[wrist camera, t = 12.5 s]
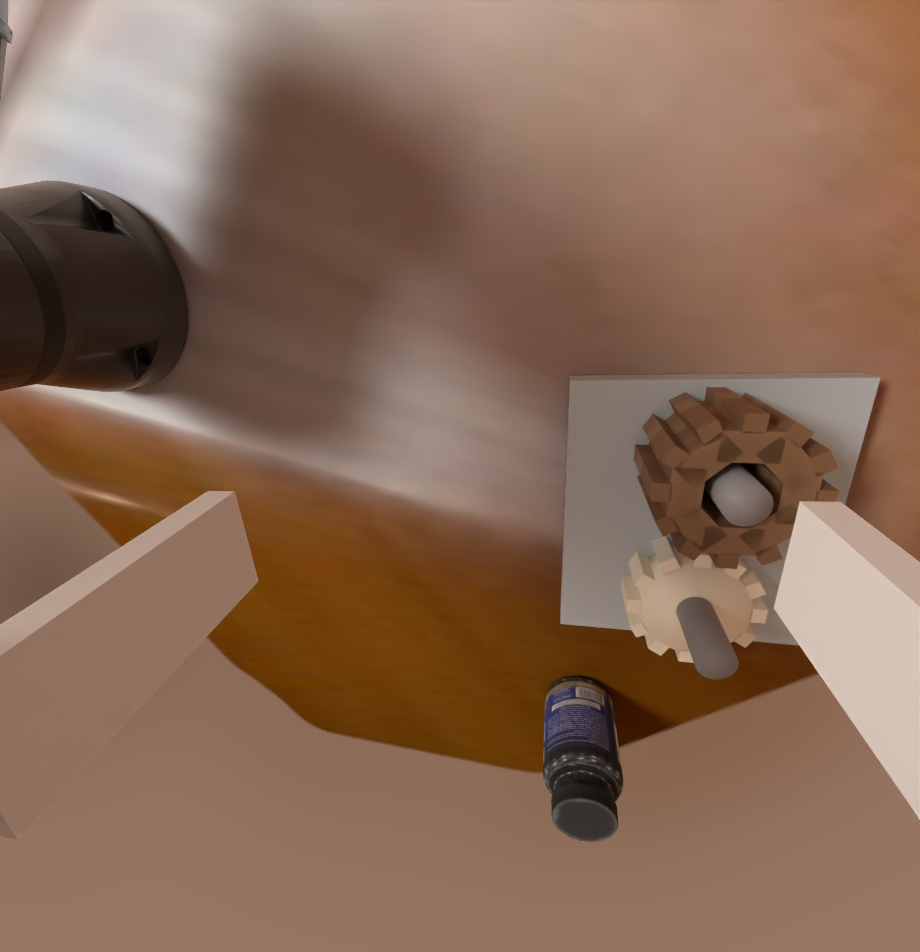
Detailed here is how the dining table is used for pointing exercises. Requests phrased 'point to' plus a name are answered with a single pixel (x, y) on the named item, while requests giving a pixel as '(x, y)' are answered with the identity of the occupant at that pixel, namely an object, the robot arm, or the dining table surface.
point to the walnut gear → (710, 450)
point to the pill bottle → (582, 759)
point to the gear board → (655, 557)
